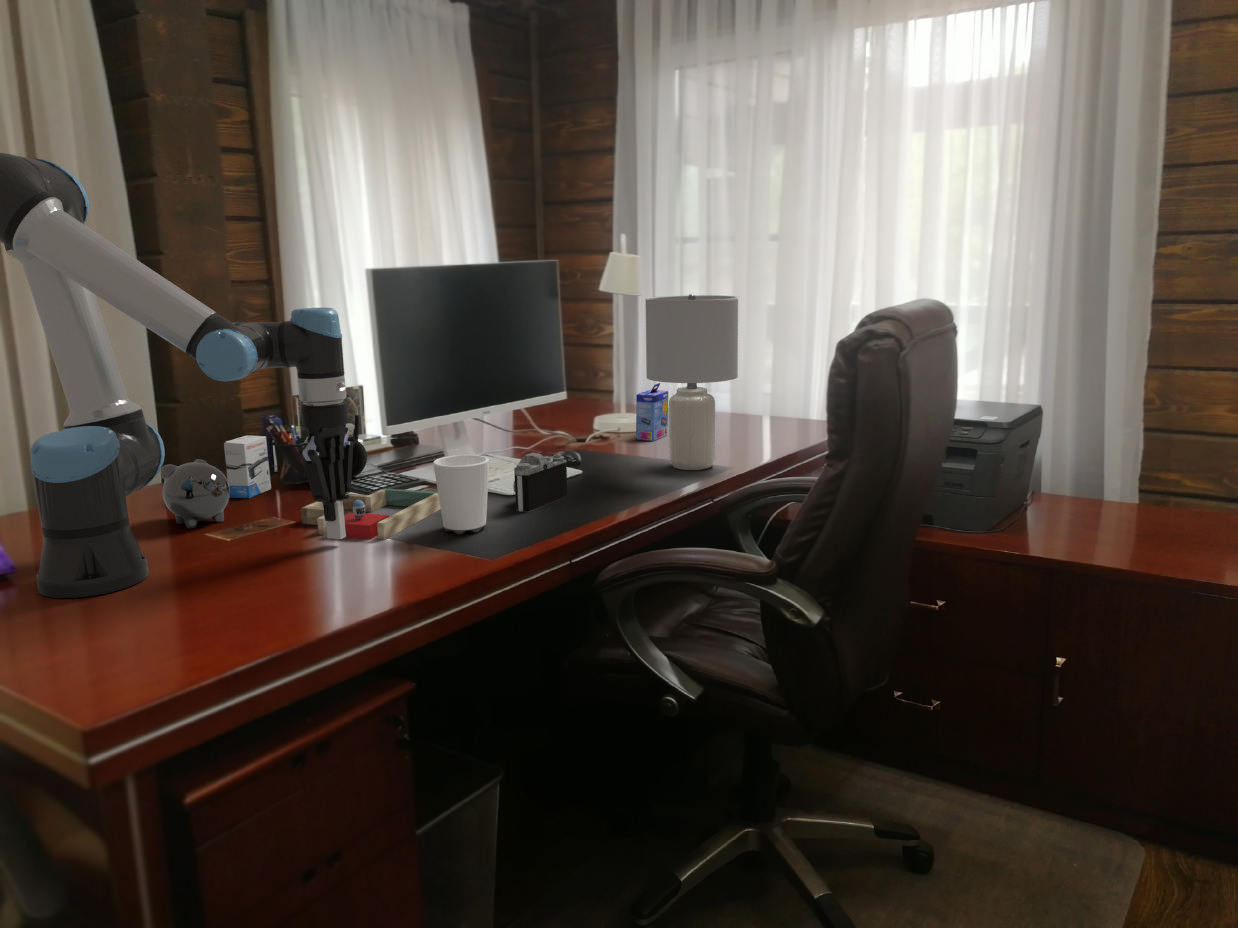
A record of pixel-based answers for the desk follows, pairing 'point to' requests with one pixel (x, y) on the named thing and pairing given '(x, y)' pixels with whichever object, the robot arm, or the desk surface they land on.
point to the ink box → (247, 466)
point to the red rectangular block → (362, 522)
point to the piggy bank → (195, 492)
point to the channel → (416, 500)
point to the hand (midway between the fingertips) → (336, 537)
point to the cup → (462, 491)
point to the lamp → (692, 367)
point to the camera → (539, 481)
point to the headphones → (357, 447)
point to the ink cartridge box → (651, 414)
